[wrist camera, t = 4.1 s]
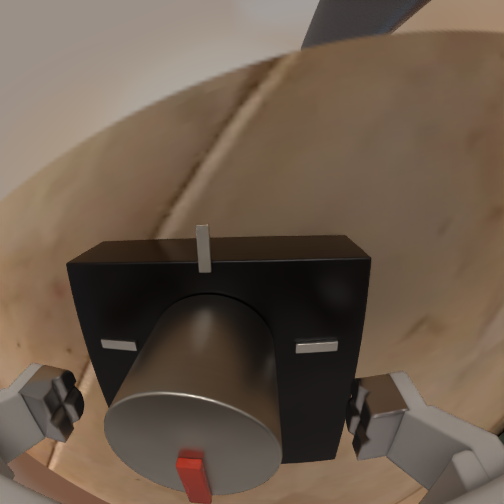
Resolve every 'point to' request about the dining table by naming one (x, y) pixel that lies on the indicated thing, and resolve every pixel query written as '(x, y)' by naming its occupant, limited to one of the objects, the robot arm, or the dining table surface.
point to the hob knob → (201, 401)
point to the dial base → (249, 293)
